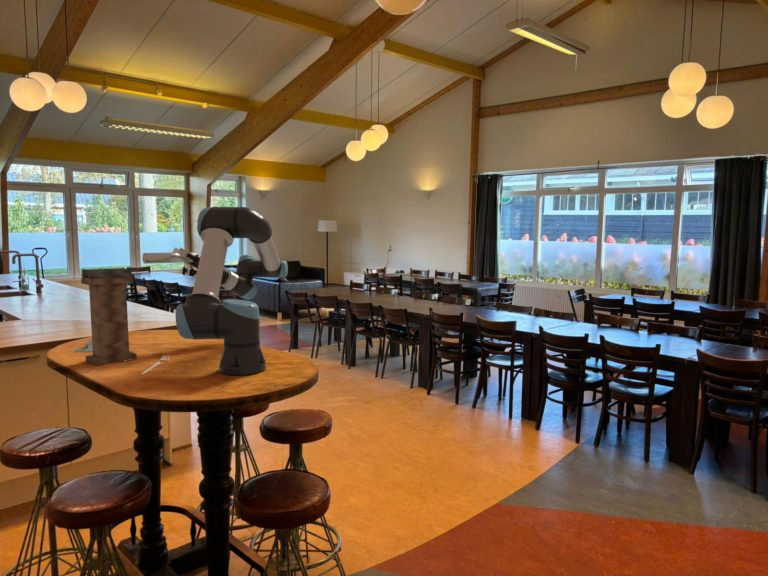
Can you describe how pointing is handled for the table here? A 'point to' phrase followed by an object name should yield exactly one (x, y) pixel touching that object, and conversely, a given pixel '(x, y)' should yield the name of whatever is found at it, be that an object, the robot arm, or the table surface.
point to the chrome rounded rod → (164, 258)
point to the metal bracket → (86, 348)
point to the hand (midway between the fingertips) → (176, 250)
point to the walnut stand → (108, 314)
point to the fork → (155, 364)
